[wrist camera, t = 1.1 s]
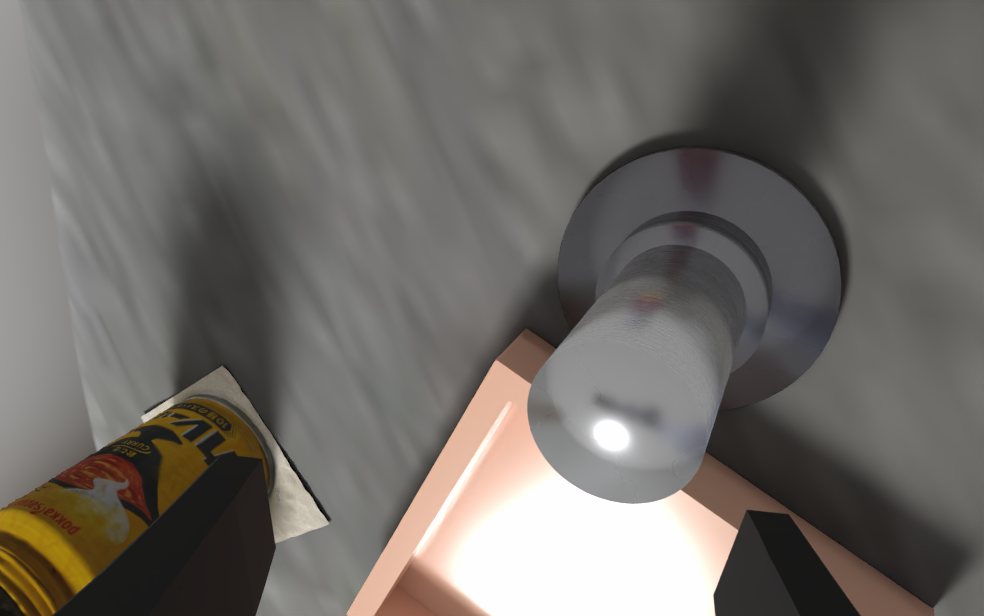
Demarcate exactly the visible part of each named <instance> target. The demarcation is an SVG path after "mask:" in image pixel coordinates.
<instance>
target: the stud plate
mask: <svg viewBox="0 0 984 616" xmlns="http://www.w3.org/2000/svg"><path fill="white" fill-rule="evenodd" d="M677 211H697V212H704V213H708V214H712V215H715V216H718V217H721V218H723V219H725V220H727V221H729V222H731V223H733V224H735V225H736V226H737V227H739V228H740V229H742V230H743V231H744V232H745V233H746V234H747V235H749V236H750V237H751V238H752V239H753V241H754V242H755V243H756V244H757V246H758V247H759V248H760V250H761V252H762V253H763V255H764V256H765V259H766V261H767V263H768V266H769V269H770V273H771V276H772V285H773V295H772V302H771V308H770V311H769V315H768V319H767V323H766V327H765V331H764V334H763V337H762V339H761V341H760V343H759V345H758V347H757V349H756V350H755V352H754V353H753V354H752V356H751V357H750V358H749V359H748V360H747V361H746V362H745V363H744V364H743V365H742V366H741V367H739V368H738V369H737V370H735V371H734V372H732V373H730V374H729V378H728V381H727V384H726V387H725V390H724V394H723V397H722V400H721V403H720V406H719V409H718V410H726V409H734V408H738V407H742V406H746V405H750V404H753V403H756V402H758V401H761V400H764V399H766V398H768V397H770V396H772V395H774V394H776V393H778V392H780V391H782V390H783V389H785V388H786V387H788V386H789V385H790V384H792V383H793V382H795V381H796V380H797V379H798V378H799V377H800V376H801V375H803V374H804V373H805V372H806V371H807V370H808V369H809V368H810V367H811V365H812V364H813V363H814V362H815V360H816V359H817V358H818V357H819V355H820V354H821V352H822V351H823V349H824V347H825V346H826V344H827V342H828V340H829V339H830V336H831V334H832V331H833V329H834V326H835V323H836V320H837V316H838V311H839V307H840V299H841V270H840V261H839V257H838V253H837V249H836V245H835V242H834V239H833V237H832V235H831V232H830V230H829V227H828V225H827V224H826V222H825V220H824V219H823V217H822V215H821V214H820V212H819V210H818V209H817V208H816V206H815V205H814V204H813V203H812V201H811V200H810V199H809V198H808V196H807V195H806V194H805V193H804V192H803V191H802V190H801V189H800V188H798V187H797V186H796V185H795V184H794V183H793V182H792V181H791V180H790V179H788V178H787V177H785V176H784V175H782V174H781V173H780V172H778V171H777V170H775V169H774V168H772V167H770V166H768V165H766V164H764V163H762V162H760V161H758V160H756V159H754V158H751V157H748V156H745V155H743V154H740V153H737V152H732V151H728V150H723V149H719V148H708V147H678V148H673V149H667V150H661V151H657V152H654V153H651V154H648V155H645V156H642V157H640V158H637V159H635V160H633V161H631V162H629V163H627V164H625V165H623V166H622V167H620V168H619V169H617V170H615V171H614V172H612V173H611V174H609V175H608V176H607V177H606V178H604V179H603V180H602V181H601V182H600V183H599V184H597V185H596V186H595V187H594V188H593V189H592V190H591V191H590V192H589V193H588V195H587V196H586V197H585V198H584V199H583V200H582V202H581V203H580V205H579V206H578V208H577V209H576V211H575V212H574V214H573V215H572V218H571V220H570V222H569V224H568V226H567V228H566V230H565V233H564V236H563V239H562V243H561V247H560V252H559V258H558V274H557V276H558V288H559V295H560V299H561V304H562V308H563V311H564V314H565V316H566V319H567V322H568V324H569V326H570V328H571V330H573V329H574V327H575V326H576V325H577V324H578V323H579V321H580V320H581V319H582V318H583V316H584V315H585V314H586V313H587V312H588V310H589V309H590V308H591V307H592V306H593V304H594V303H595V292H596V285H597V281H598V278H599V275H600V272H601V270H602V268H603V266H604V264H605V262H606V261H607V259H608V258H609V257H610V255H611V254H612V253H613V252H614V251H615V250H616V249H617V247H618V246H619V245H620V244H621V243H622V242H623V241H624V240H625V239H626V238H627V237H628V236H629V235H630V234H631V233H632V232H633V231H634V230H635V229H636V228H637V227H639V226H640V225H641V224H643V223H645V222H646V221H648V220H650V219H652V218H654V217H657V216H659V215H662V214H666V213H670V212H677Z"/></svg>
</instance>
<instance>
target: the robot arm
mask: <svg viewBox="0 0 984 616" xmlns="http://www.w3.org/2000/svg"><path fill="white" fill-rule="evenodd" d="M275 549H276V546H275V539H274V532H273V526H272V519H271V513H270V506H269V499H268V493H267V486H266V479H265V473H264V466H263V459H262V458H252V457H243V456H233V455H224V454H222V455H221V456H219V457H218V458H217V459H216V460H215V461H214V462H213V463H212V464H211V465H210V466H209V467H208V468H207V469H206V470H205V471H204V472H203V473H202V474H201V475H200V476H199V477H198V478H197V479H196V480H195V481H194V482H193V483H192V484H191V485H190V486H189V487H188V488H187V489H186V490H185V491H184V492H183V493H182V494H181V495H180V496H179V497H178V498H177V499H176V500H175V501H174V502H173V503H172V504H171V505H170V506H169V507H168V508H167V509H166V510H165V511H164V512H163V513H162V514H161V515H160V516H159V517H158V518H157V519H156V520H155V521H154V522H153V523H152V524H151V525H150V526H149V527H148V528H147V529H146V530H145V531H144V532H143V533H142V534H141V535H140V536H139V537H137V538H136V539H135V540H134V541H133V542H132V543H131V544H130V545H129V546H128V547H127V548H126V549H125V550H124V551H123V552H122V553H121V554H119V555H118V556H117V557H116V558H115V559H114V560H113V561H112V562H111V563H110V564H109V565H108V566H107V567H106V568H105V569H104V570H103V571H101V572H100V573H99V574H98V575H97V576H96V577H95V578H94V579H93V580H92V581H91V582H89V583H88V584H87V585H86V586H85V587H84V588H83V589H81V590H80V591H79V592H78V593H77V594H76V595H74V596H73V597H72V598H71V599H70V600H69V601H68V602H66V603H65V604H64V605H63V606H62V607H61V608H60V609H58V610H57V611H56V612H55V613H54V614H53V615H52V616H255V615H256V612H257V609H258V606H259V603H260V599H261V596H262V593H263V590H264V587H265V583H266V580H267V576H268V573H269V570H270V566H271V563H272V559H273V556H274V552H275ZM713 598H714V608H715V616H861V615H860V614H859V612H858V611H857V610H856V608H855V607H854V605H853V604H852V603H851V601H850V600H849V598H848V597H847V596H846V594H845V593H844V591H843V590H842V589H841V587H840V586H839V584H838V583H837V582H836V580H835V579H834V577H833V576H832V575H831V573H830V572H829V570H828V569H827V567H826V566H825V565H824V563H823V562H822V560H821V559H820V557H819V556H818V555H817V553H816V552H815V550H814V549H813V547H812V546H811V545H810V543H809V542H808V540H807V539H806V537H805V536H804V535H803V533H802V532H801V530H800V529H799V527H798V526H797V525H796V523H795V522H794V520H793V519H792V518H791V517H790V515H789V514H783V513H774V512H764V511H755V510H746V513H745V515H744V518H743V520H742V523H741V525H740V528H739V530H738V533H737V536H736V538H735V541H734V543H733V546H732V548H731V551H730V553H729V556H728V559H727V561H726V564H725V566H724V569H723V571H722V574H721V576H720V579H719V582H718V584H717V587H716V589H715V592H714V594H713Z"/></svg>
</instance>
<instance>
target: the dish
mask: <svg viewBox="0 0 984 616" xmlns="http://www.w3.org/2000/svg"><path fill="white" fill-rule="evenodd" d="M555 350H556V348H555V347H553V346H552V345H550V344H549V343H547V342H546V341H544V340H543V339H542V338H540V337H539V336H537V335H536V334H534V333H533V332H531V331H530V330H528V329H527V328H526V329H525V330H524V331H523V332H522V333H521V334H520V335H519V336H518V337H517V338H516V339H515V340H514V341H513V342H512V343H511V344H510V345H509V346H508V347H507V348H506V349H505V350H504V351H503V352H502V354H501V355H500V356H499V357H498V358H497V359H496V360H495V362H494V363H493V365H492V367H491V368H490V370H489V372H488V374H487V375H486V377H485V379H484V380H483V382H482V384H481V385H480V387H479V389H478V391H477V392H476V394H475V396H474V397H473V399H472V401H471V403H470V404H469V406H468V408H467V409H466V411H465V413H464V414H463V416H462V418H461V420H460V421H459V423H458V425H457V426H456V428H455V430H454V432H453V433H452V435H451V437H450V438H449V440H448V442H447V443H446V445H445V447H444V449H443V450H442V452H441V454H440V455H439V457H438V459H437V461H436V462H435V464H434V466H433V467H432V469H431V471H430V472H429V474H428V476H427V478H426V479H425V481H424V483H423V484H422V486H421V488H420V490H419V491H418V493H417V495H416V496H415V498H414V500H413V501H412V503H411V505H410V507H409V508H408V510H407V512H406V513H405V515H404V517H403V519H402V520H401V522H400V524H399V525H398V527H397V529H396V531H395V532H394V534H393V536H392V537H391V539H390V541H389V542H388V544H387V546H386V548H385V549H384V551H383V553H382V554H381V556H380V558H379V560H378V561H377V563H376V565H375V566H374V568H373V570H372V571H371V573H370V575H369V577H368V578H367V580H366V582H365V583H364V585H363V587H362V589H361V590H360V592H359V594H358V595H357V597H356V599H355V600H354V602H353V604H352V606H351V607H350V609H349V611H348V612H347V615H348V616H715V608H714V598H713V594H714V592H715V589H716V587H717V584H718V582H719V579H720V576H721V574H722V571H723V569H724V566H725V564H726V561H727V559H728V556H729V553H730V551H731V548H732V546H733V543H734V541H735V538H736V536H737V533H738V530H739V528H740V525H741V523H742V520H743V518H744V515H745V513H746V510H755V511H764V512H774V513H783V514H789V515H790V517H791V518H792V519H793V520H794V522H795V523H796V525H797V526H798V527H799V529H800V530H801V532H802V533H803V535H804V536H805V537H806V539H807V540H808V542H809V543H810V545H811V546H812V547H813V549H814V550H815V552H816V553H817V555H818V556H819V557H820V559H821V560H822V562H823V563H824V565H825V566H826V567H827V569H828V570H829V572H830V573H831V575H832V576H833V577H834V579H835V580H836V582H837V583H838V584H839V586H840V587H841V589H842V590H843V591H844V593H845V594H846V596H847V597H848V598H849V600H850V601H851V603H852V604H853V605H854V607H855V608H856V610H857V611H858V612H859V614H860V615H861V616H934V609H932V608H931V607H930V606H928V605H927V604H925V603H924V602H922V601H921V600H919V599H918V598H917V597H915V596H914V595H912V594H911V593H909V592H908V591H906V590H905V589H903V588H902V587H901V586H899V585H898V584H896V583H895V582H893V581H892V580H890V579H889V578H888V577H886V576H885V575H883V574H882V573H880V572H879V571H877V570H876V569H875V568H873V567H872V566H870V565H869V564H867V563H866V562H864V561H863V560H861V559H860V558H859V557H857V556H856V555H854V554H853V553H851V552H850V551H848V550H847V549H846V548H844V547H843V546H841V545H840V544H838V543H837V542H835V541H834V540H833V539H831V538H830V537H828V536H827V535H825V534H824V533H822V532H821V531H820V530H818V529H817V528H815V527H814V526H812V525H811V524H809V523H808V522H806V521H805V520H804V519H802V518H801V517H799V516H798V515H796V514H795V513H793V512H792V511H791V510H789V509H788V508H786V507H785V506H783V505H782V504H780V503H779V502H778V501H776V500H775V499H773V498H772V497H770V496H769V495H767V494H766V493H764V492H763V491H762V490H760V489H759V488H757V487H756V486H754V485H753V484H751V483H750V482H749V481H747V480H746V479H744V478H743V477H741V476H740V475H738V474H737V473H736V472H734V471H733V470H731V469H730V468H728V467H727V466H725V465H724V464H723V463H721V462H720V461H718V460H717V459H715V458H714V457H712V456H711V455H709V454H708V453H707V452H705V454H704V457H703V460H702V463H701V465H700V467H699V469H698V471H697V473H696V474H695V475H694V477H693V478H692V479H691V481H690V482H689V483H688V484H687V485H685V486H684V487H683V488H682V489H681V490H679V491H678V492H676V493H675V494H673V495H671V496H669V497H667V498H664V499H661V500H658V501H655V502H649V503H643V504H624V503H617V502H611V501H608V500H604V499H601V498H598V497H595V496H593V495H590V494H588V493H586V492H584V491H582V490H580V489H579V488H577V487H575V486H574V485H572V484H571V483H569V482H568V481H567V480H566V479H564V478H563V477H562V476H561V475H560V474H559V473H557V472H556V471H555V470H554V469H553V468H552V466H551V465H550V464H549V463H548V462H547V460H546V459H545V458H544V456H543V455H542V453H541V452H540V450H539V448H538V447H537V445H536V443H535V441H534V438H533V436H532V433H531V430H530V426H529V422H528V414H527V400H528V395H529V390H530V387H531V384H532V382H533V380H534V378H535V376H536V374H537V373H538V371H539V370H540V369H541V367H542V366H543V365H544V364H545V362H546V361H547V360H548V359H549V357H550V356H551V355H552V354H553V353H554V351H555Z"/></svg>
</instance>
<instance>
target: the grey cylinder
mask: <svg viewBox="0 0 984 616" xmlns="http://www.w3.org/2000/svg"><path fill="white" fill-rule="evenodd" d="M772 295H773V285H772V276H771V273H770V269H769V266H768V263H767V261H766V259H765V256H764V255H763V253H762V252H761V250H760V248H759V247H758V246H757V244H756V243H755V242H754V241H753V239H752V238H751V237H750V236H749V235H747V234H746V233H745V232H744V231H743V230H742V229H740V228H739V227H737V226H736V225H735V224H733V223H731V222H729V221H727V220H725V219H723V218H721V217H718V216H715V215H712V214H708V213H704V212H697V211H677V212H670V213H666V214H662V215H659V216H657V217H654V218H652V219H650V220H648V221H646V222H645V223H643V224H641V225H640V226H639V227H637V228H636V229H635V230H634V231H633V232H632V233H631V234H630V235H629V236H628V237H627V238H626V239H625V240H624V241H623V242H622V243H621V244H620V245H619V246H618V247H617V249H616V250H615V251H614V252H613V253H612V254H611V255H610V257H609V258H608V259H607V261H606V262H605V264H604V266H603V268H602V270H601V272H600V275H599V278H598V281H597V285H596V292H595V303H594V304H593V306H592V307H591V308H590V309H589V310H588V312H587V313H586V314H585V315H584V316H583V318H582V319H581V320H580V321H579V323H578V324H577V325H576V326H575V327H574V329H573V330H572V331H571V332H570V333H569V335H568V336H567V337H566V338H565V339H564V341H563V342H562V343H561V344H560V345H559V347H558V348H557V349H556V350H555V351H554V353H553V354H552V355H551V356H550V357H549V359H548V360H547V361H546V362H545V364H544V365H543V366H542V367H541V369H540V370H539V371H538V373H537V374H536V376H535V378H534V380H533V382H532V384H531V387H530V390H529V395H528V400H527V414H528V422H529V426H530V430H531V433H532V436H533V438H534V441H535V443H536V445H537V447H538V448H539V450H540V452H541V453H542V455H543V456H544V458H545V459H546V460H547V462H548V463H549V464H550V465H551V466H552V468H553V469H554V470H555V471H556V472H557V473H559V474H560V475H561V476H562V477H563V478H564V479H566V480H567V481H568V482H569V483H571V484H572V485H574V486H575V487H577V488H579V489H580V490H582V491H584V492H586V493H588V494H590V495H593V496H595V497H598V498H601V499H604V500H608V501H611V502H617V503H624V504H643V503H649V502H655V501H658V500H661V499H664V498H667V497H669V496H671V495H673V494H675V493H676V492H678V491H679V490H681V489H682V488H683V487H684V486H685V485H687V484H688V483H689V482H690V481H691V479H692V478H693V477H694V475H695V474H696V473H697V471H698V469H699V467H700V465H701V463H702V460H703V457H704V454H705V451H706V447H707V444H708V441H709V438H710V435H711V432H712V428H713V425H714V422H715V419H716V416H717V413H718V409H719V406H720V403H721V400H722V397H723V394H724V390H725V387H726V384H727V381H728V378H729V374H730V373H732V372H734V371H735V370H737V369H738V368H739V367H741V366H742V365H743V364H744V363H745V362H746V361H747V360H748V359H749V358H750V357H751V356H752V354H753V353H754V352H755V350H756V349H757V347H758V345H759V343H760V341H761V339H762V337H763V334H764V331H765V327H766V323H767V319H768V315H769V311H770V308H771V302H772Z"/></svg>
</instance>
